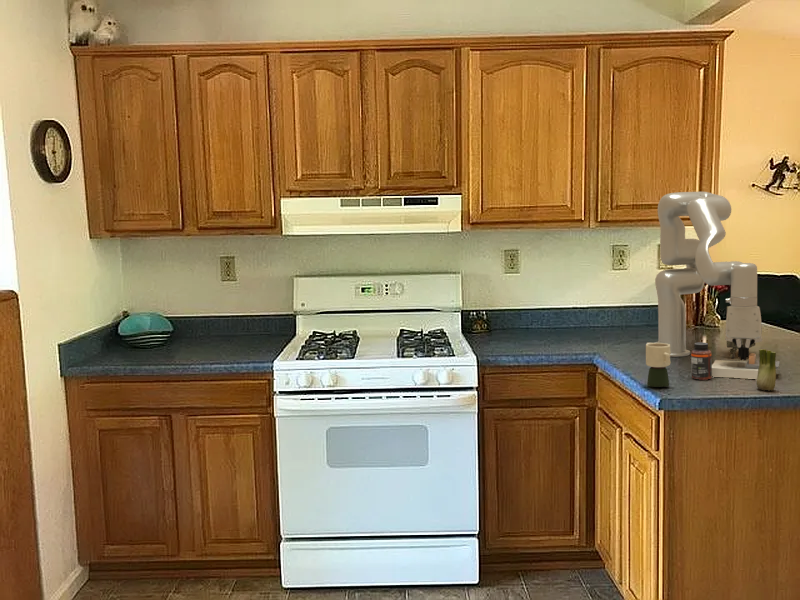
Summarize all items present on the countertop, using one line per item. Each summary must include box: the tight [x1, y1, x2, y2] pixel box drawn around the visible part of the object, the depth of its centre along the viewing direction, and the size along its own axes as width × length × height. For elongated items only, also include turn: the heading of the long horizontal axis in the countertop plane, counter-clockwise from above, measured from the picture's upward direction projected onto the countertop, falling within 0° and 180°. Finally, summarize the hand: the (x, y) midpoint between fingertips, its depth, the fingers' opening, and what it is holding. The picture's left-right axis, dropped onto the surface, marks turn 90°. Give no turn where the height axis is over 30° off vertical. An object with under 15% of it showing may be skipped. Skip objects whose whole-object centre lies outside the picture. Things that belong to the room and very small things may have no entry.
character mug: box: [645, 342, 672, 388], centre depth 226 cm, size 11×7×13 cm, turn 15°
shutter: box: [746, 352, 781, 370], centre depth 235 cm, size 9×9×3 cm
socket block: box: [712, 359, 759, 379], centre depth 239 cm, size 16×14×3 cm
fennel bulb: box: [756, 348, 777, 391], centre depth 217 cm, size 6×5×12 cm
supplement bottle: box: [690, 342, 713, 381], centre depth 235 cm, size 6×6×11 cm
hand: (743, 359), depth 238 cm, fingers closed
